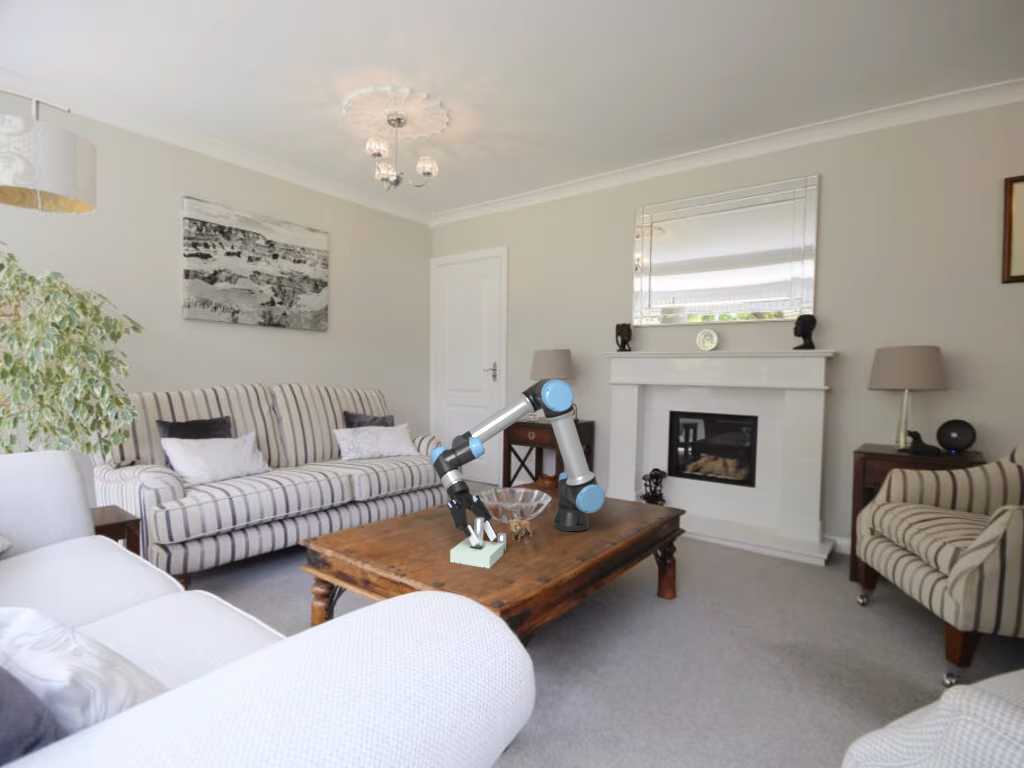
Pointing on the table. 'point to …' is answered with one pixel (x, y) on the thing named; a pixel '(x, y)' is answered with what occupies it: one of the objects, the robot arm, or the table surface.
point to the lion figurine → (519, 528)
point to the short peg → (502, 539)
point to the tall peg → (479, 531)
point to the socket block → (476, 553)
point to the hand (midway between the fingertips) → (485, 541)
